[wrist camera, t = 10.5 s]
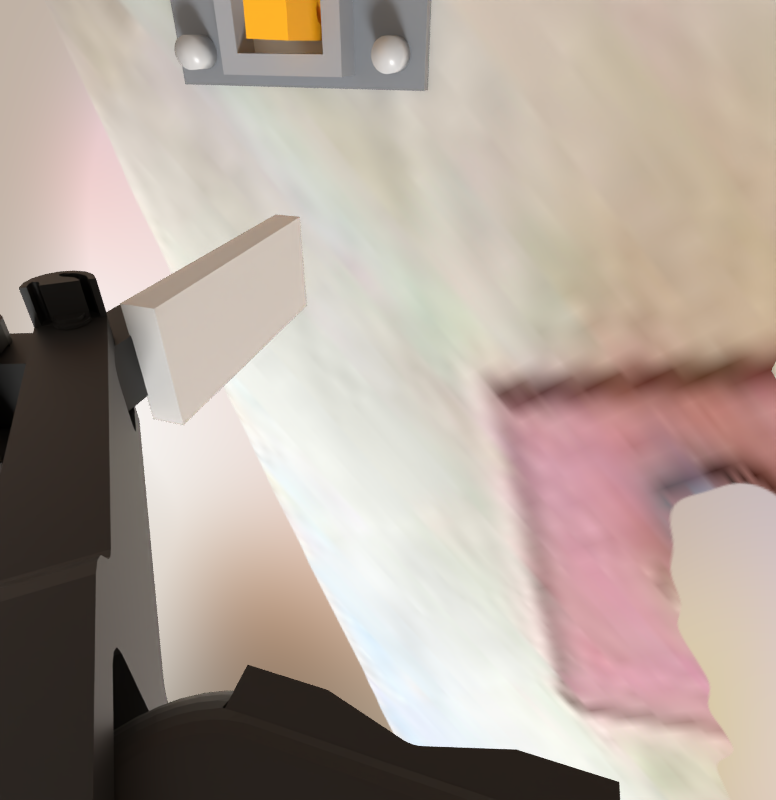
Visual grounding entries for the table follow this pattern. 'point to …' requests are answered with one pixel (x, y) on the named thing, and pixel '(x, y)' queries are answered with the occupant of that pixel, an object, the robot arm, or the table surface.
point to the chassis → (308, 47)
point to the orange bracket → (283, 20)
